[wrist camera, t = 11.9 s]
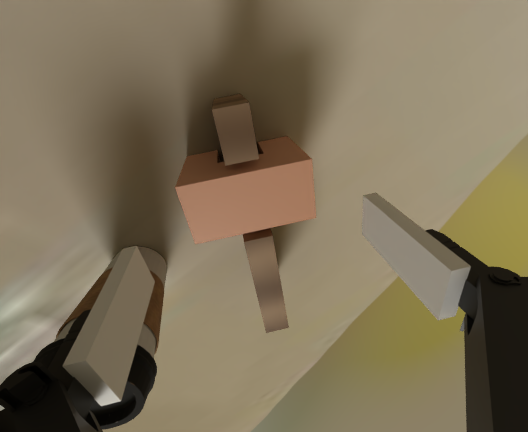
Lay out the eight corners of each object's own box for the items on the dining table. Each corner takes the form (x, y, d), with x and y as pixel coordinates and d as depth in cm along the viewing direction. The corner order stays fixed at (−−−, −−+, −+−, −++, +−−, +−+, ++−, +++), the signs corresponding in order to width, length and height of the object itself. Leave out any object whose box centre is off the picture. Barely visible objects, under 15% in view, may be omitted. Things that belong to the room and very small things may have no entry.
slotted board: (213, 98, 24) (211, 109, 17) (240, 93, 24) (249, 102, 17) (256, 280, 34) (266, 332, 27) (274, 276, 34) (288, 327, 28)
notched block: (201, 201, 28) (195, 244, 21) (186, 156, 26) (175, 187, 19) (292, 182, 29) (316, 217, 22) (287, 136, 26) (311, 159, 19)
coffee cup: (144, 223, 28) (80, 352, 15) (192, 273, 32) (174, 408, 19) (82, 260, 29) (-27, 411, 16) (137, 303, 33) (84, 452, 20)
